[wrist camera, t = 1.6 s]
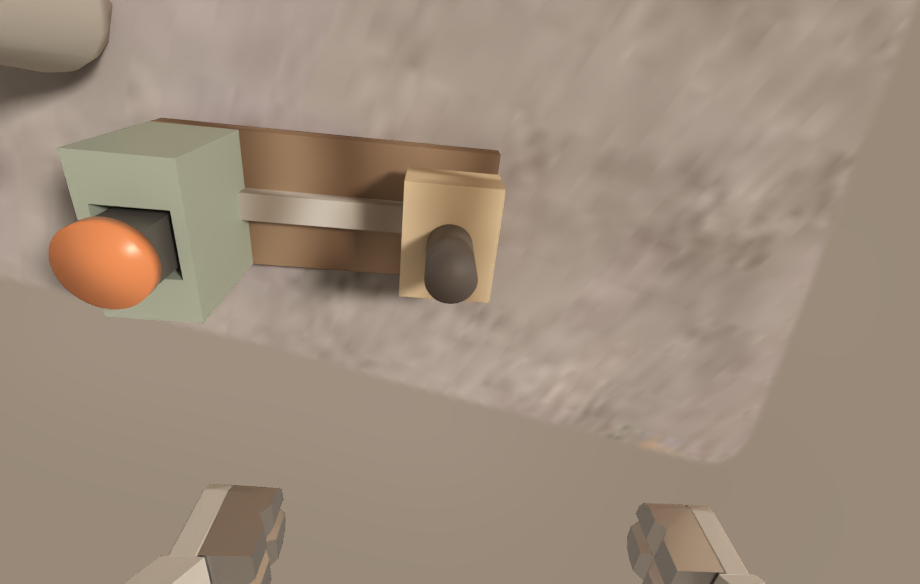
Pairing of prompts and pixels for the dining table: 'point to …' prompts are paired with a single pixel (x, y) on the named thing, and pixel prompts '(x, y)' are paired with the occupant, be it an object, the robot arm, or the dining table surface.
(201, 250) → the end cabinet
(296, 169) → the rail bed
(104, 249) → the button
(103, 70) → the dining table surface
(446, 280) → the carriage
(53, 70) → the salt shaker
